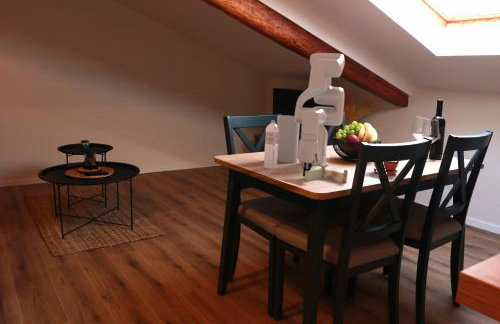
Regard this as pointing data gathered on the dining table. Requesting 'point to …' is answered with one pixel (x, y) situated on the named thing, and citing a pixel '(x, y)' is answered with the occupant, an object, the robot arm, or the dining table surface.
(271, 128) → the water bottle
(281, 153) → the cylinder vase
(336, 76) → the robot arm
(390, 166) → the plant pot
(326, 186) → the dining table surface
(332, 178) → the fence fixed
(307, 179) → the bar
